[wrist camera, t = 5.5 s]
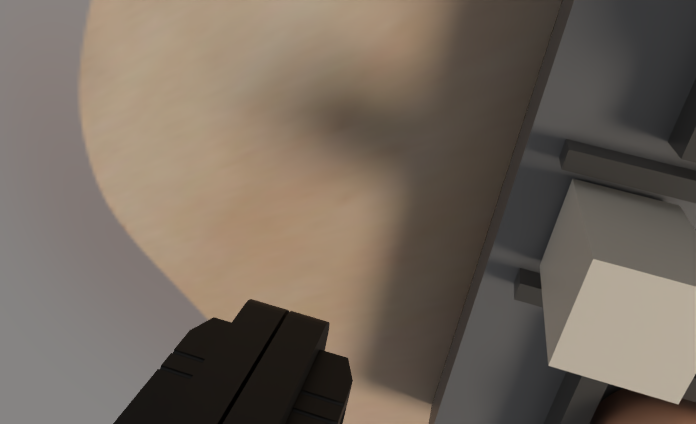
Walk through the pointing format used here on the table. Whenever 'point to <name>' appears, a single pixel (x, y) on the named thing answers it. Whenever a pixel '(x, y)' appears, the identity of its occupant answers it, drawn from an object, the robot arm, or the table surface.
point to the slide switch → (621, 291)
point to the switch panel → (551, 189)
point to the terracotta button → (642, 410)
